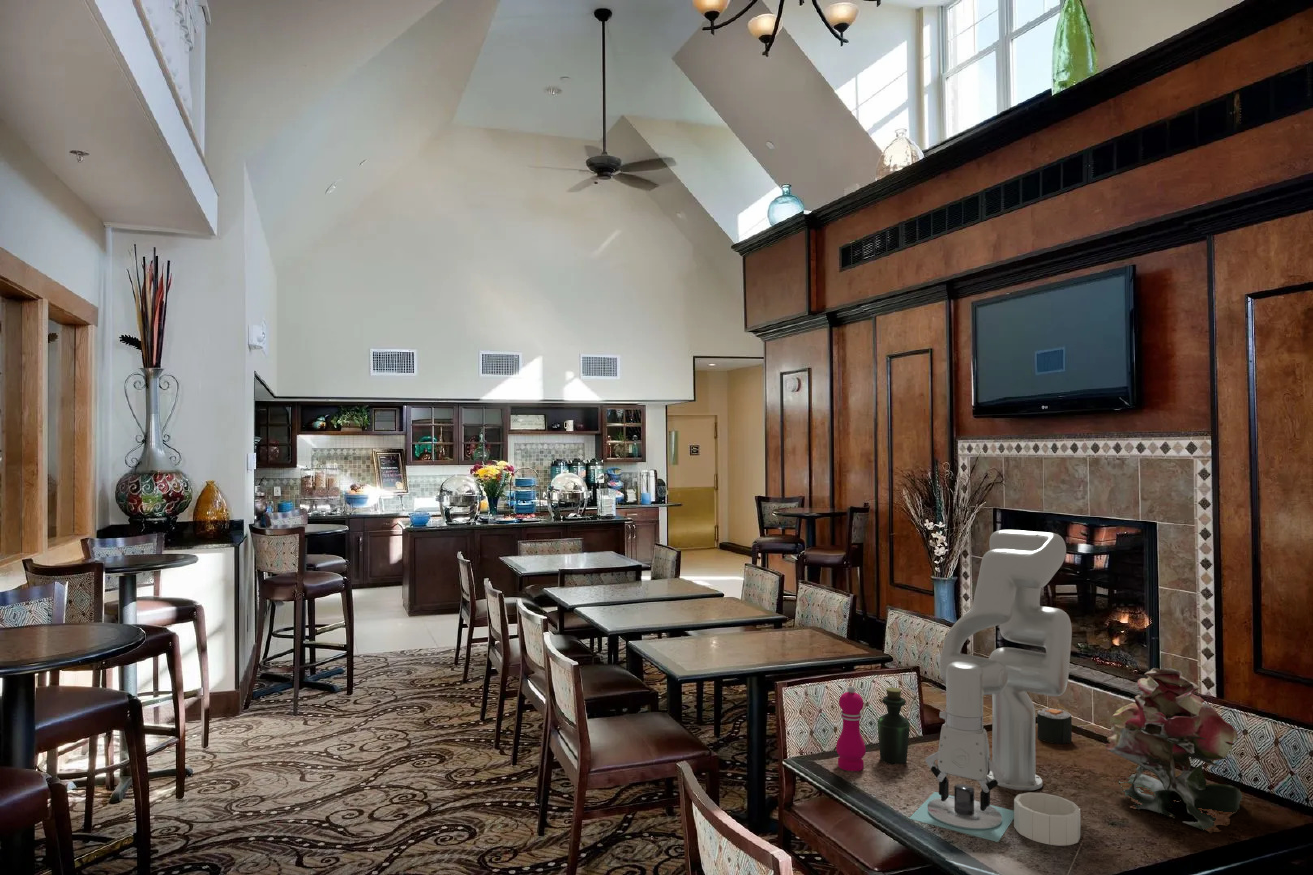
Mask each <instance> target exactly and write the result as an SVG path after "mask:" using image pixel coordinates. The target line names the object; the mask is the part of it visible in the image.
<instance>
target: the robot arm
mask: <svg viewBox="0 0 1313 875" xmlns="http://www.w3.org/2000/svg"><path fill="white" fill-rule="evenodd" d="M988 542H989V550H988V551H986V552H985V553H984V555H983V556H982V560H981V562H980V568H979V573H978V577H977V582H976V587H975V592H974V596H973V602H972V606H971V608H970V609H969V610H968V611H967V612H966V613H965V614H964V615H963V616H961V617H960V618H959V619H958V620H957V621H956V622H955V623H954V624H953V625H952V626H951V627H950V629H949V630H948V632H947V634H946V635H945V637H944V641H943V645H942V646H943V647H942V650H941V654H940V658H939V676H940V678H941V680H942V681H943V683H945V685H946V688H945V691H946V692H945V693H946V694H945V695H946V697H945V700H946V701H945V702H946V703H945V706H946V707H945V711H942V710H941V711H939V715H938V716H939V718H940V719H943V720H944V723H943V724H942V725H941V729H940V735H939V741H938V742H939V743H938V750H937V751H936V752H934V753H932V754H930V755H928V756H927V757H926V758H925V759H924V761H925V763H926V764H927V765H928V767H929V769H930V771H931V773H932V774H933V775H934V776H935V778H936V780H937V781H938V793H939V795H941V801H945V800H946V799H947V798H948V796H949V795H950V794H949V792H950V790H949V786H950V783H949V782H950V780H949V779H948V775H949V776H954V777H959V778H963V779H967V780H972V781H978V783H979V786H980V787H981V789H982V790H981V791H980V794H979V795H980V796H979V797H980V798H979V799H980V801H979V802H980V810H981V811H985V809H986V808H987V807H989V806H990V805H991V791H992V790H993V789H994V788H996V787H997V786H999V787H1001V788H1005V789H1010V790H1016V791H1024V792H1025V791H1026V792H1031V791H1036V790H1039V789H1042V787H1043V783H1044V782H1043V779H1042V778H1041V777H1040V776H1039V775H1037V774H1036V708H1035V705H1034V702H1033V700H1032V698H1030V696H1029V694H1028V693H1033V694H1038V695H1043V696H1048V697H1060V696H1062V695H1063V694H1065V692H1066V689H1067V686H1068V682H1069V673H1070V661H1071V648H1072V634H1073V629H1072V622H1071V618H1070V615H1069V614H1068V613H1067V612H1065V611H1064V610H1063V609H1061V608H1057V607H1051V606H1043V605H1041V604H1040V602H1041V589H1042V588H1044V587H1046V585H1047V584H1048V583H1049V582H1050V581H1051V580H1052V578H1053V577H1054V576H1055V574H1056V573H1057V572H1058V570H1059V569H1060V568H1061V567H1062V565H1063V563H1064V561H1065V558H1066V554H1067V546H1066V542H1065V540H1064V538H1063V537H1062V536H1061V535H1059V534H1057V533H1054V532H1050V531H1049V532H1047V531H1037V530H1036V531H1033V530H1021V529H1001V530H996V531H994V532H992V533H991V535H990V537H989V541H988ZM997 626H999V632H1000V635H1001V636H1002V638H1003V639H1004V640H1006V641H1009V642H1012V643H1017V644H1023V645H1027V646H1028V645H1029V646H1035V647H1042V648H1045V652H1041V651H1040V652H1039V651H1034V650H1029V649H1021V648H1016V647H1008V646H1007V647H1005V646H1003V647H998V648H996V649H994V650H993V651H992V652H991V653H990V655H989V656H988V658H987V657H982V656H978V655H972V654H966V653H961V651H962V648H963V646H964V643H966V641H967V640H968V639H969V638H970V637H971V636H973V635H974V634H976V633H978V632H981V631H983V630H986V629H989V628H993V627H997ZM1027 692H1028V693H1027ZM987 695H988V696H989V695H992V696H991V698H992V700H991V701H992V702H991V703H992V714H991V715H992V718H991V719H992V720H991V721H992V726H991V728H992V732H991V733H992V734H991V735H992V742H991V746H992V748H991V749H992V750H990V745H989V744H990V743H989V737H988V733H987V730H986V729H985V728H984V696H987ZM990 751H991V753H992V754H991V753H990ZM991 755H992V756H991ZM936 760H937V763H936Z"/></svg>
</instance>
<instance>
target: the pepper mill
mask: <svg viewBox="0 0 1313 875" xmlns="http://www.w3.org/2000/svg"><path fill="white" fill-rule="evenodd" d="M838 705H839V707H840V709H841V711H840V714H841V715H840V717H841V719H842V729H841V732H840V734H839V737H838V739H837V742H836V746H835V749H836V750H835V751H836V753H837V755H838V758H837V766H838V768H839V769H841V770H843V771H847V772H860V771H862V770H863V769H864V766H865V765H864V764H865V762H864V759H863V758H864V756H865V755H866V752H867V751H866V744H865V741H864V739H863V737H862V734H861V731H860V720H862V710H863V708H864V705H865V704H864V699H863V697H862V696H861V695H860V694H859V693H857V692H856V688H855V687H854V686H853V685H852V686H851V685H850V686H848V687H847V691H846V692H844V693H842V694H841V695H840V696H839V700H838Z"/></svg>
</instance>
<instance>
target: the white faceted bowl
mask: <svg viewBox="0 0 1313 875" xmlns="http://www.w3.org/2000/svg"><path fill="white" fill-rule="evenodd" d="M1013 811H1014V819H1013V827H1014V829H1015V830H1016V832H1017V833H1018V834H1019V835H1021V836H1023V837H1024V838H1027V839H1028V840H1031V841H1034V842H1037V843H1040V844H1045V845H1050V846H1060V847H1061V846H1063V847H1065V846H1072V845H1074V844H1077V843H1079V841H1080V839H1081V808H1080V807H1079V806H1078V805H1077V804H1076V803H1075V802H1073V801H1071V800H1069V799H1066V798H1064V797H1062V796H1059V795H1055V794H1050V793H1044V792H1031V791H1027V792H1023V793H1019V794H1016V796H1015V797H1014V799H1013Z"/></svg>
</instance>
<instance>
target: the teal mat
mask: <svg viewBox="0 0 1313 875" xmlns="http://www.w3.org/2000/svg"><path fill="white" fill-rule="evenodd" d="M948 797H954V795H950V794H949V796H948ZM938 798H941V795H939V791H934V792H933V793H932V794H931V795H930V796H929V797H928V798H927V799H926V800H925V801H924V802H923V803H922V804H921V805H920V806H919V807H918V809H916V811H915V812H914V813H913V814H912V815H911V816H910V817H909V818H908V819H909V820H912V821H916V822H920V823H924V824H928V825H931V826H935V827H938V828H943V829H947V830H949V831H950V830H951V831H953V832H958V833H962V834H965V835H969V836H973V837H975V838H976V837H977V838H980V839H985V840H988V841H992V842H995V843H999V842H1000V840H1001V839H1002V837H1003V835H1004V834H1005V832H1006V831H1007V829H1008V828H1009V826H1010V825H1011V823H1012V822H1013V821H1014V809H1009V808H1004V807H1000V806H996V805H991V804H990V806H991V807H993V808H995V809H996V810H997V811H999V812H1000V814H1001V816H1002V823H1001V825H1000V826H998V827H996V828H994V829H990V830H966V829H960V828H956V827H952V826H949V825H946V824H943V823H941V822H939V821H937V820H935V819H934V818H933V817H931V816H930V815H929V813H928V803H929V802H930V801H932V800H934V799H938Z"/></svg>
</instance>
